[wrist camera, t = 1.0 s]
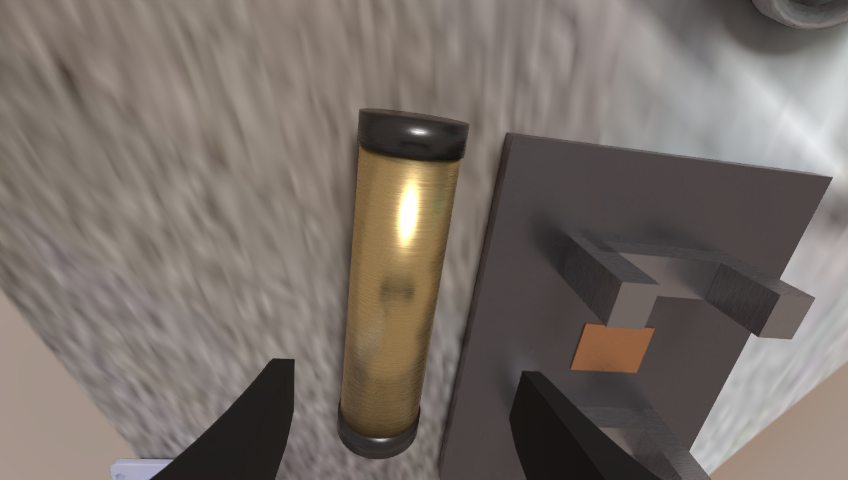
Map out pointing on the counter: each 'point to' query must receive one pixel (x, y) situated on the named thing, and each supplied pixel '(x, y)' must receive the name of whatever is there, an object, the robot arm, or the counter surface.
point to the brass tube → (395, 273)
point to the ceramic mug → (804, 13)
